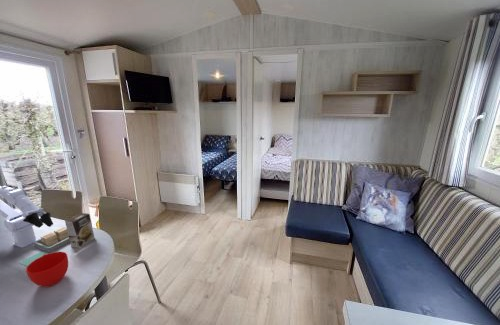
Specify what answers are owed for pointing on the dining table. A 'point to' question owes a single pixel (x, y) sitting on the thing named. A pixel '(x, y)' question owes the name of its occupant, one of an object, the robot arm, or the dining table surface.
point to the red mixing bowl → (48, 269)
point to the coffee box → (79, 230)
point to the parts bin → (52, 248)
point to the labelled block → (49, 239)
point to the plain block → (61, 234)
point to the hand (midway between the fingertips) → (46, 225)
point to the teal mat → (32, 258)
